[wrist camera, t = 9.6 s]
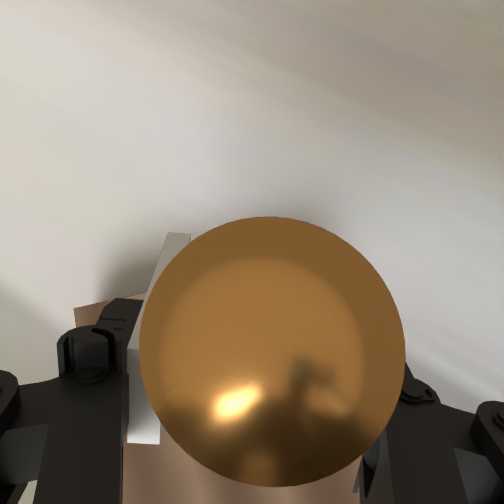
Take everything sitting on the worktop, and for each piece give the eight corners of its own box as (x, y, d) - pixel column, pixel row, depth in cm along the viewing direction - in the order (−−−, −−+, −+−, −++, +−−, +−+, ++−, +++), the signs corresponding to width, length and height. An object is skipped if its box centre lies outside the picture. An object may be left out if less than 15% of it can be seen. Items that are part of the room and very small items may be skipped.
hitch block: (295, 278, 38) (308, 257, 33) (359, 492, 33) (385, 504, 28) (91, 324, 35) (73, 308, 30) (126, 566, 30) (112, 592, 25)
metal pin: (262, 339, 21) (356, 196, 8) (287, 431, 20) (445, 441, 7) (173, 361, 20) (117, 244, 7) (193, 458, 19) (168, 526, 6)
